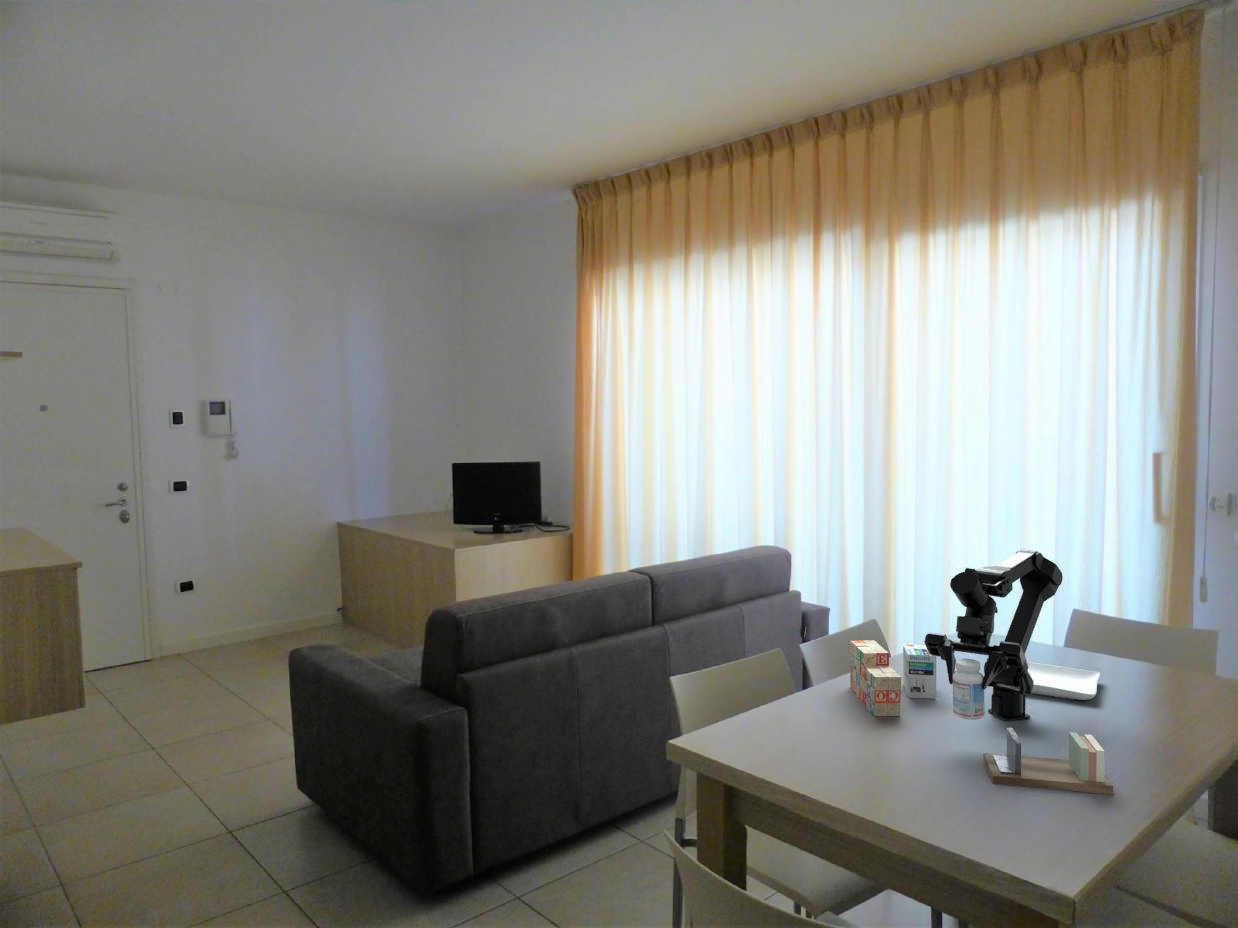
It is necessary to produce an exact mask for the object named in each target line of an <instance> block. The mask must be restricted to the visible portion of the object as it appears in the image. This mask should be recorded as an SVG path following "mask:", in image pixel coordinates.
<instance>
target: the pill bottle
mask: <svg viewBox="0 0 1238 928" xmlns="http://www.w3.org/2000/svg"><path fill="white" fill-rule="evenodd" d="M980 671H981V662H980V661H979V660H976V659H973V658H972V659H971V658H960V659H956V665H955V672H954V673H953V678H952V679H953V683H952V712H953V714H954V715H955V716H956V717H957V718H959V719H962V720H963V719H964V720H971V721H972V720H973V721H975V720H981V719H983V718H984V717H985V715H986V713H985V707H986V706H985V690H984V689H983V688H982V684H983V678H984V674H982V673H981V672H980Z"/></svg>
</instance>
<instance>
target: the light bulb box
mask: <svg viewBox="0 0 1238 928" xmlns="http://www.w3.org/2000/svg"><path fill="white" fill-rule="evenodd" d="M902 646H903V647H902V649H903V650H902V655H903V656H902V658H903V661H902V663H903V665H902V668H903V669H902V674H903V677H902V678H903V679H902V682H903V683H902V685H903V688H904V690H905V692H906V695H907V697H908V698H912V699H913V698H915V699H916V698H917V699H931V700H936V699H937V656H932V655H930V654H929V652H928V650H927V647H926V645H925V644H912V643H903V644H902Z"/></svg>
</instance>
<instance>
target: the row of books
mask: <svg viewBox="0 0 1238 928" xmlns="http://www.w3.org/2000/svg"><path fill="white" fill-rule="evenodd" d="M1105 752H1106V750H1104V748H1103V747H1102V746H1101V744H1100V743H1099V742H1098V741H1097V740H1096V738H1095V737H1094V736H1093V734H1083V735H1079V734H1078V733H1077V732H1073V731H1069V733H1068V760H1069V764H1070V766H1071V767H1072V769H1073V770H1074V772H1075V773H1076V775H1077V776H1078V777H1079V779H1080V780H1084V781H1096V782H1104V775H1105V761H1106V760H1105V758H1106V757H1105V756H1106V755H1105Z"/></svg>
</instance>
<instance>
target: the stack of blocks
mask: <svg viewBox="0 0 1238 928" xmlns="http://www.w3.org/2000/svg"><path fill="white" fill-rule="evenodd" d="M849 648H850V649H849V652H850V653H849V663H850V676H849V678H850V679H849V683H850V684H849V685H850V686H851V687H850V689H851V690H852V689H853V690H852V691H853V692H855V693H856V694H857V695H856V694H855V693H854V694H855V695H856V697H857V698H858V697H859V698H860V699H861V700H860V699H859V698H858V699H859V700H860V701H861V702H862V703H863V702H864V703H863V704H864V705H865V706H866V708H867V709H868V711H869V712H870V713H871V714H872V715H873V716H874V717H900V716H901V702H902V701H901V698H902V695H901V693H902V692H901V691H902V675H900V674H899V673H898V672H897V671H896V670H895V669H894V668H892V666H890V653H889V651H887V650H886V649H885V648H883V646H881V645H880V644H879V643H878V642H877V641H876V640H873V639H871V640H865V639H863V640H850V641H849Z"/></svg>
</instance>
